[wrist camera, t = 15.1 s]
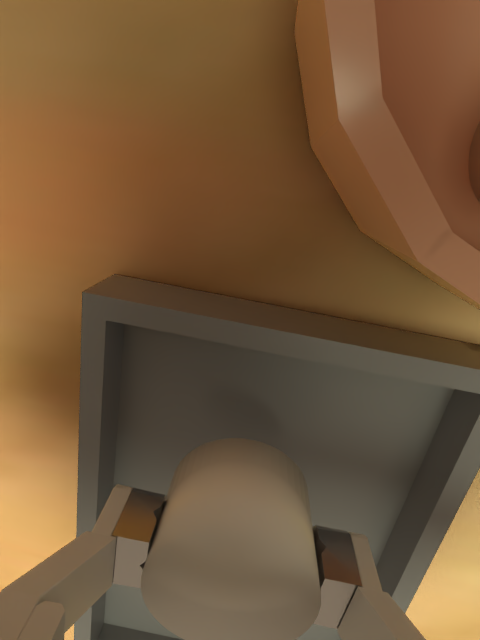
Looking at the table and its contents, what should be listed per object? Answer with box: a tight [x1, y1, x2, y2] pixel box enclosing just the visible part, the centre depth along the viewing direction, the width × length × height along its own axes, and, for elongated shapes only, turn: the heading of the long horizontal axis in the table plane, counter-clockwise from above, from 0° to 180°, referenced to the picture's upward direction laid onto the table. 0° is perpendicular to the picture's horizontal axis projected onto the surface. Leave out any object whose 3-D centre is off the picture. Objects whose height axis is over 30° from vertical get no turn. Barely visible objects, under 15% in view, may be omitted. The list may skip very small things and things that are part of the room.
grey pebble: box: [141, 438, 321, 640], centre depth 11 cm, size 4×4×3 cm
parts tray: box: [74, 274, 480, 640], centre depth 16 cm, size 14×20×2 cm
